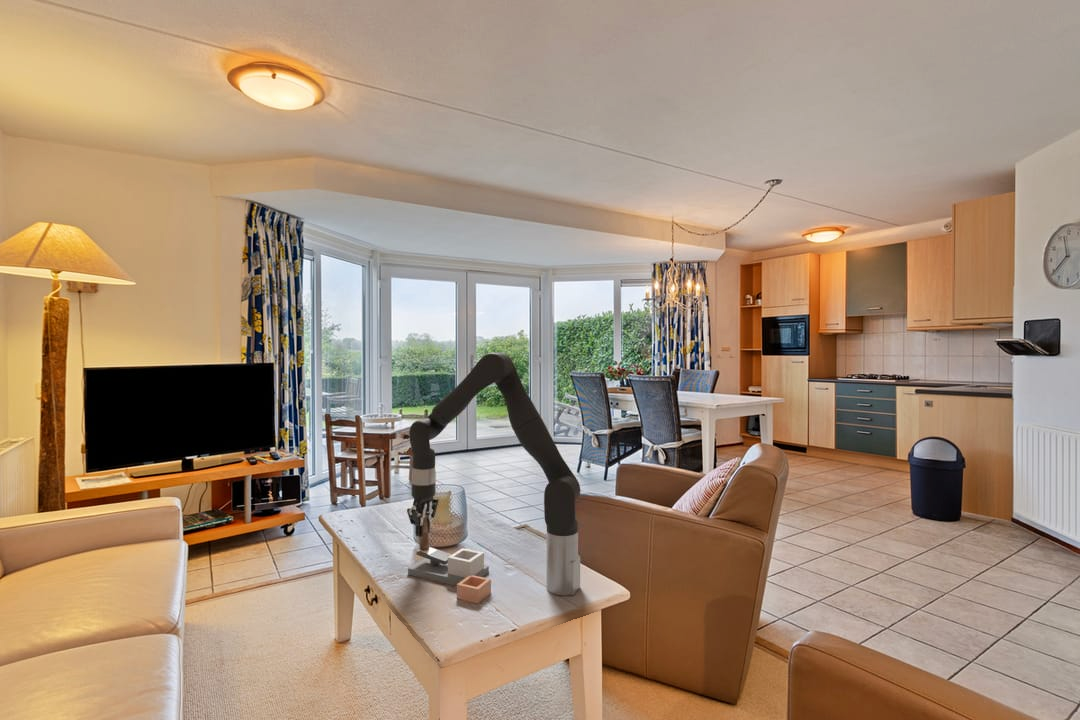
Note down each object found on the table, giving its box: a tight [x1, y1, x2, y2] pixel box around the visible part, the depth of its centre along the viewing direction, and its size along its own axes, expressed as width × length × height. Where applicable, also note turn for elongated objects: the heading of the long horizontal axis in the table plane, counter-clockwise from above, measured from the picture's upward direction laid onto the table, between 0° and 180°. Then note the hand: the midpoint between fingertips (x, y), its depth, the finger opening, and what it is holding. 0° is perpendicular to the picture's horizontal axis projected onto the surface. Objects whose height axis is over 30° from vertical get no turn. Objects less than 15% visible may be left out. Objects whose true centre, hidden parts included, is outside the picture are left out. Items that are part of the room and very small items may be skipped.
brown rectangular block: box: [418, 513, 430, 550], centre depth 168 cm, size 3×3×11 cm
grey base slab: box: [407, 548, 490, 587], centre depth 164 cm, size 22×12×7 cm, turn 65°
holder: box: [456, 575, 492, 604], centre depth 150 cm, size 7×7×4 cm
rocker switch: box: [416, 546, 452, 565], centre depth 166 cm, size 11×5×1 cm, turn 65°
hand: (422, 534), depth 168 cm, fingers closed on brown rectangular block, 3 cm apart
